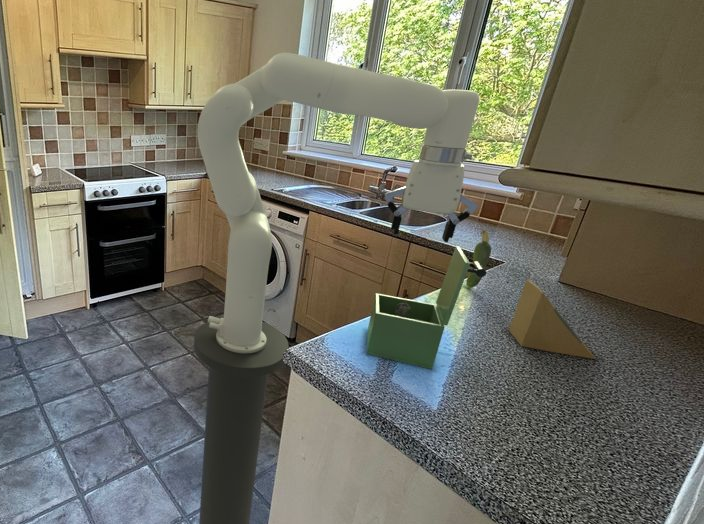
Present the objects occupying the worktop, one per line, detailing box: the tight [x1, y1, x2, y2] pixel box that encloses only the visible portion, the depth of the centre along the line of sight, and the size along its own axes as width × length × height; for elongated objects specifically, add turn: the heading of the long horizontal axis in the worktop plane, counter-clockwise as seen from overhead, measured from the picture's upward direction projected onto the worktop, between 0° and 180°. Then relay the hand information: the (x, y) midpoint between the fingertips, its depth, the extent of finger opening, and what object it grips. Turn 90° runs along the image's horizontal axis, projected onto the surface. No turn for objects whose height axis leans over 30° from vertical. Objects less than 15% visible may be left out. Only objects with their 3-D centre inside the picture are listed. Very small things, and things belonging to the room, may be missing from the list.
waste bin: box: [366, 292, 445, 370], centre depth 96 cm, size 14×12×11 cm
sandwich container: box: [508, 279, 597, 360], centre depth 100 cm, size 9×15×15 cm, turn 72°
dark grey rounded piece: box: [394, 300, 410, 318], centre depth 96 cm, size 6×6×12 cm
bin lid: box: [435, 245, 487, 326], centre depth 88 cm, size 14×12×5 cm
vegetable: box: [465, 229, 492, 290], centre depth 129 cm, size 4×4×20 cm
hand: (419, 236), depth 88 cm, fingers open, 9 cm apart
